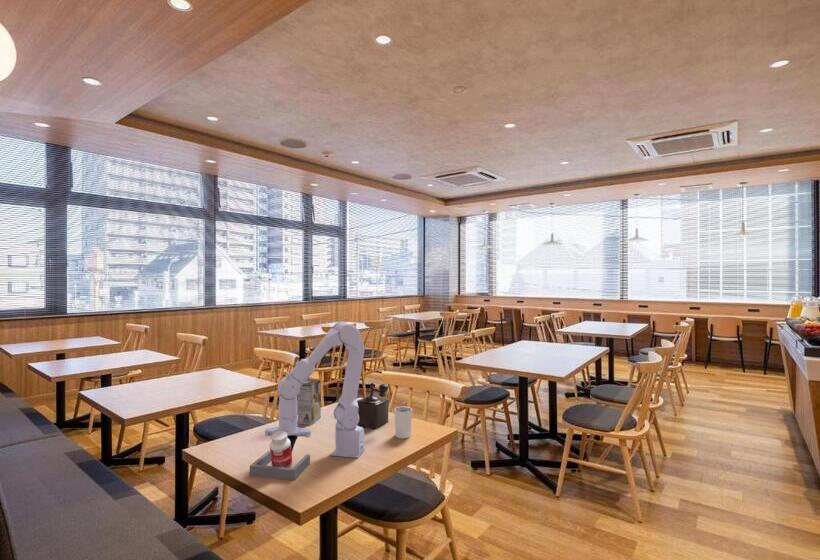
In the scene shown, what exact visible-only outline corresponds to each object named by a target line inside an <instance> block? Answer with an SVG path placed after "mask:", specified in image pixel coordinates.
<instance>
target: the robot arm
mask: <svg viewBox="0 0 820 560" xmlns="http://www.w3.org/2000/svg"><path fill="white" fill-rule="evenodd" d="M342 345H344V346H345V348H346V349H347V350H348V355H347V361H346V367H345V373H344V379H343V385H342V390H341V391H342V392H341V396H340V397H339V398H338V401H337V403H336V404H337V405H336V406H335V408H334V409H333V417H334V419H335V420H336V423H335V437H334V438H335V442H334V443H335V444H334V445H335V449H334V450H333V451H332V452H331V454H330V456H332V457H344V458H354V459H355V458H359V457H360V456H361V454H362V453H363V452H364V450H365V429H364V428H365V427H361V426H357V424H358V422H359V414H358V403H357V398H358V393H359V387H360V379H361V375H362V367H363V361H364V356H365V349H366V347H365V344H364V342H363V338H362V336H361V331H360V330H359V329H358V328H357V327H356V326H355V325H354V324H350V323H347V322H346V321H338V322H336V323H335V324H334V325H333V326H332V327H331V328H330V329H329V330H328V331H327V333H326V334H325V335H324V337H323V338H322V339H321V340H320V341H319V343H318V344H317V345H316V347H315V348H314V349H313V350H312V352H311V353H310V355H308V357H307V358H301V359H300V361H299V360H297V361H296V362H295V366H294V367H292V369H291V370H290V372H289V373H285V376H284V378H282V379H281V380H280V381H279V382H278V385H277V386H276V389H277V391H278V393H279V394H278V395H279V396H278V397H279V398H278V401H279V402H278V427H267V428H266V429H264V437H269V436H272V434H273V433H275V432H277V431H285V432H286V433H287V438H288V439H289V440H290V442H291V452H292V453H293V450H294V446H295V443H296V442H297V439H298V437H303V438H305V437H306V438H307V439H308V438H310V437H311V436H312V429H310V428H309V429H308V428H303V427H302V428H301V427H298V394H299V392H300V387H301V386H302V385H303V384H304V383H305V382H306V380H307V379H309V378H310V377H311V376H312V375H313V374H314V372H315V370H316V364H317V363H318V362H319V361H320V360H321V359H323V357H324V356H325V355H326V354H327V353H328V352H329V351H330V350H331V349H332V348H333V347H338V346H342Z"/></svg>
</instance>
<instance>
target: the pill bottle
mask: <svg viewBox="0 0 820 560" xmlns="http://www.w3.org/2000/svg"><path fill="white" fill-rule="evenodd" d="M270 436H271V437H270V439H271V441H270V444H269V451H270V453H271V461H270V463H271V466H276V467H286V468H292V466H293V454H292V453H293V451H292V452H291V442H290V440H289V439H288V438H287V433H286V432H285V431H277V432H275V433H273V434H272V435H270Z"/></svg>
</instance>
